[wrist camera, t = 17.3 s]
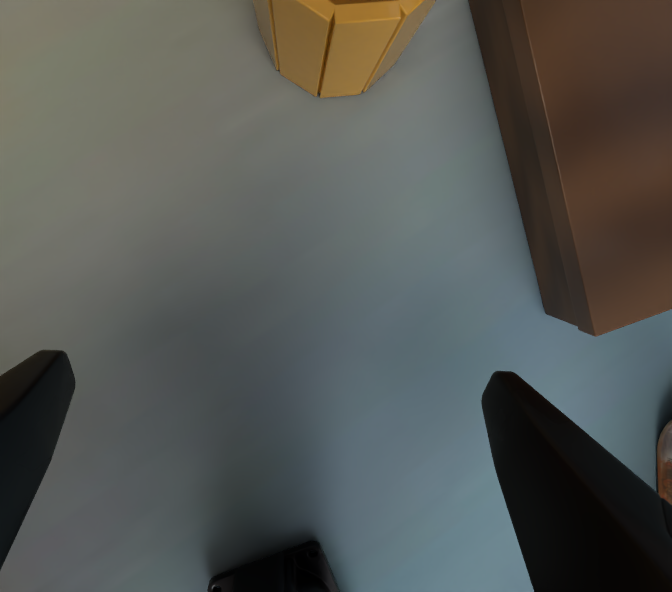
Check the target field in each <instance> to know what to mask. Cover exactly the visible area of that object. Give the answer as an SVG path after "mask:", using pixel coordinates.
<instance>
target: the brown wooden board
mask: <svg viewBox="0 0 672 592" xmlns="http://www.w3.org/2000/svg"><path fill="white" fill-rule="evenodd" d="M469 4H470V9H471V13H472V17H473V21H474V25H475V29H476V33H477V37H478V41H479V45H480V49H481V53H482V57H483V61H484V65H485V69H486V73H487V78H488V82H489V86H490V90H491V94H492V98H493V102H494V106H495V110H496V114H497V118H498V122H499V126H500V130H501V134H502V138H503V142H504V147H505V151H506V155H507V159H508V163H509V167H510V171H511V175H512V179H513V183H514V187H515V191H516V195H517V199H518V203H519V207H520V211H521V215H522V220H523V224H524V228H525V232H526V236H527V240H528V244H529V248H530V252H531V256H532V260H533V264H534V268H535V272H536V276H537V280H538V284H539V289H540V293H541V297H542V301H543V305H544V309H545V313H546V314H547V315H550V316H552V317H555V318H558V319H560V320H563V321H565V322H568V323H570V324H573V325H575V326H578V329H579V330H580V331H583V332H585V333H588V334H590V335H592V336H595V337H596V336H599V335H602V334H604V333H607V332H610V331H613V330H615V329H618V328H621V327H624V326H626V325H629V324H632V323H635V322H637V321H640V320H643V319H646V318H648V317H651V316H654V315H657V314H659V313H662V312H665V311H668V310H670V309H672V0H469Z"/></svg>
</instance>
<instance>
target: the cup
mask: <svg viewBox="0 0 672 592" xmlns="http://www.w3.org/2000/svg"><path fill="white" fill-rule="evenodd" d="M435 2H436V0H253V3H254V8H255V13H256V18H257V23H258V28H259V31H260V33H261V35H262V38H263V40H264V42H265V45H266V47H267V49H268V51H269V54H270V56H271V58H272V61H273V63H274V65H275V68H276V70H279V69H280V74H281V75H282V76H284V77H285V78H287V79H289V80H290V81H292V82H293V83H295V84H296V85H298V86H300V87H301V88H303V89H304V90H306V91H307V92H309V93H310V94H312V95H314V96H317V95H318V93H319V95H320V98H326V97H337V96H348V95H359V94H361V92H362V91H363V92H366V91H367V90H368V89H369V88H370V87H371V86H372V85H373V84H374V83H375V82H376V81H377V80H378V79H379V78H380V77H382V76H383V75H384V74H385V73H386V72H387V71H388V70H389V69H390V68H391V67H392V66H393V65H394V64H395V62H396V61H397V59H398V58H399V56H400V55H401V53H402V52H403V50H404V49H405V47H406V46H407V44H408V43H409V41H410V40H411V38H412V37H413V35H414V34H415V32H416V30H417V29H418V27H419V26H420V24H421V23H422V21H423V20H424V18H425V17H426V15H427V14H428V12H429V11H430V9H431V8H432V6H433V5H434V3H435Z"/></svg>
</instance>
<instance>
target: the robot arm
mask: <svg viewBox="0 0 672 592" xmlns="http://www.w3.org/2000/svg"><path fill="white" fill-rule="evenodd" d="M74 390H75V377H74V374H73V371H72V368H71V364H70V361H69V358H68V356H67V354H66V353H65V352H64V351H61V350H41V351H39V352H37V353H35V354H34V355H32V356H31V357H29V358H28V359H26V360H24V361H23V362H21V363H20V364H18V365H17V366H15V367H14V368H12V369H10V370H9V371H7V372H6V373H4V374H3V375H1V376H0V570H1V568H2V565H3V563H4V561H5V559H6V557H7V555H8V553H9V550H10V548H11V546H12V544H13V542H14V540H15V537H16V535H17V533H18V531H19V529H20V527H21V525H22V522H23V520H24V518H25V516H26V514H27V512H28V509H29V507H30V505H31V503H32V501H33V499H34V497H35V494H36V492H37V490H38V488H39V486H40V484H41V481H42V479H43V477H44V475H45V473H46V470H47V468H48V466H49V464H50V461H51V459H52V456H53V453H54V450H55V447H56V444H57V441H58V438H59V435H60V432H61V429H62V426H63V423H64V420H65V417H66V414H67V411H68V408H69V405H70V402H71V399H72V396H73V393H74ZM482 409H483V414H484V419H485V424H486V428H487V433H488V438H489V443H490V448H491V453H492V457H493V462H494V466H495V470H496V473H497V477H498V480H499V483H500V486H501V489H502V492H503V495H504V499H505V502H506V505H507V508H508V511H509V514H510V517H511V520H512V524H513V527H514V530H515V533H516V536H517V539H518V542H519V545H520V549H521V552H522V555H523V558H524V561H525V564H526V567H527V570H528V573H529V577H530V580H531V583H532V586H533V589H534V592H672V505H671V504H670V503H669V502H668V501H667V500H665V499H664V498H660V495H659V494H658V493H657V492H656V491H655V490H653V489H652V488H651V487H650V486H649V485H647V484H646V483H645V482H644V481H643V480H642V479H640V478H639V477H638V476H637V475H636V474H634V473H633V472H632V471H631V470H630V469H628V468H627V467H626V466H625V465H624V464H623V463H621V462H620V461H619V460H618V459H617V458H615V457H614V456H613V455H612V454H611V453H609V452H608V451H607V450H606V449H605V448H604V447H602V446H601V445H600V444H599V443H598V442H596V441H595V440H594V439H593V438H592V437H591V436H589V435H588V434H587V433H586V432H585V431H583V430H582V429H581V428H580V427H579V426H577V425H576V424H575V423H574V422H573V421H572V420H570V419H569V418H568V417H567V416H566V415H564V414H563V413H562V412H561V411H560V410H558V409H557V408H556V407H555V406H554V405H553V404H551V403H550V402H549V401H548V400H547V399H545V398H544V397H543V396H542V395H541V394H539V393H538V392H537V391H536V390H535V389H534V388H532V387H531V386H530V385H529V384H528V383H526V382H525V381H524V380H523V379H522V378H521V377H519V376H518V375H517V374H516V373H514V372H511V371H496V372H494V373H493V374H492V376H491V378H490V380H489V382H488V384H487V386H486V388H485V390H484V392H483V395H482ZM311 550H315V551H316V552H314V553H311V552H310V551H311ZM215 586H220V587H219V588H217V587H215ZM208 592H340V591H339V588H338V586H337V583H336V581H335V578H334V576H333V573H332V571H331V568H330V566H329V564H328V561H327V559H326V556H325V554H324V551H323V549H322V546H321V545H320V543H319V542H317V541H309V542H306V543H304V544H301V545H298V546H296V547H293V548H290V549H287V550H285V551H282V552H279V553H277V554H274V555H271V556H269V557H266V558H263V559H260V560H258V561H255V562H252V563H250V564H247V565H244V566H241V567H239V568H236V569H233V570H231V571H228V572H225V573H223V574H220V575H217V576H215V577H213V578H211V580H210V581H209V585H208Z"/></svg>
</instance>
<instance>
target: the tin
mask: <svg viewBox="0 0 672 592" xmlns="http://www.w3.org/2000/svg"><path fill="white" fill-rule="evenodd" d="M657 468H658V494H659V495H660V498H664V499H665V500H667V501H668V502H669V503H670V504H671V505H672V420H671V421H669V422H668V423H667V424H666V426H665V427H664V429H663V430H662V432H661V434H660V437H659V440H658V445H657Z"/></svg>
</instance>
